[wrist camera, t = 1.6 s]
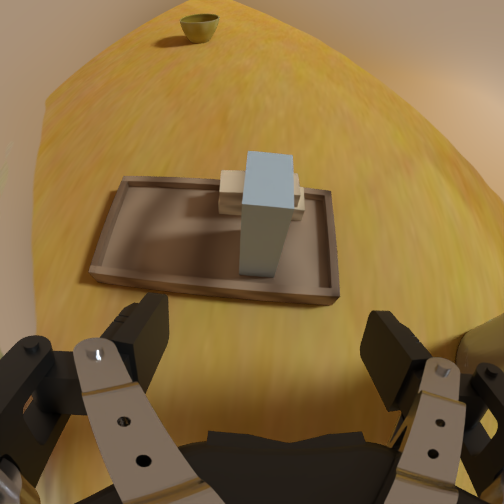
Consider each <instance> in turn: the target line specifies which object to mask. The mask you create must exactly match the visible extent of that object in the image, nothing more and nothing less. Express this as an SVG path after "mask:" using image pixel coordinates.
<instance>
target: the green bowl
mask: <svg viewBox="0 0 504 504" xmlns="http://www.w3.org/2000/svg"><path fill="white" fill-rule="evenodd" d="M218 22H219V16H218V15H214V14H194V15H189V16H186V17H183V18H181V19H180V24H181V27H182V29H183V32H184V33H185V35H186V37H187V38H188V39H189V40H190V41H191V42H192V43H204V42H207V41H209V40H210V39H211V37H212V36H213V34H214V32H215V30H216V28H217V25H218Z"/></svg>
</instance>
